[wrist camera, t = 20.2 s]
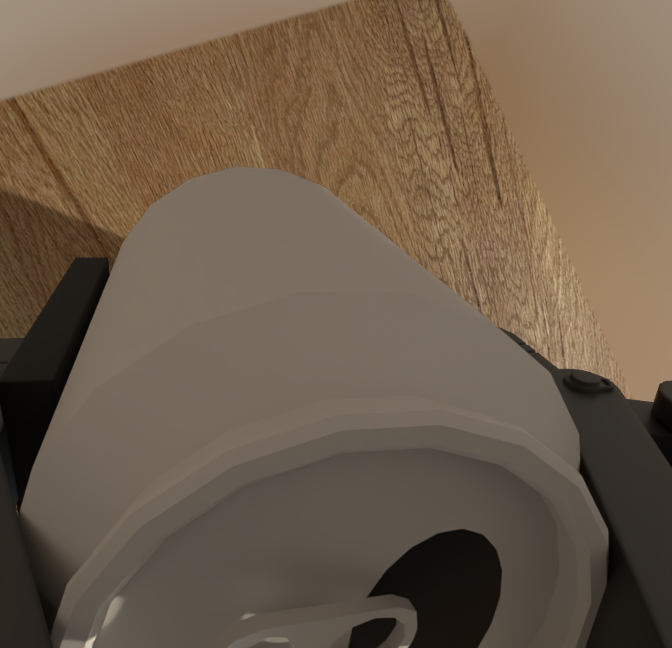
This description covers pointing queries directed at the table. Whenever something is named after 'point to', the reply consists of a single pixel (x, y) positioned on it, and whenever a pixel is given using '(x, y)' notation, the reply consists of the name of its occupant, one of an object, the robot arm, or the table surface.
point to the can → (303, 447)
